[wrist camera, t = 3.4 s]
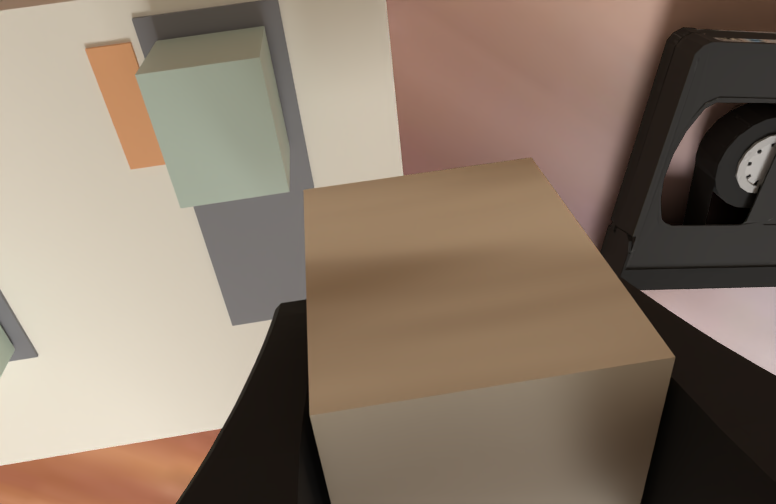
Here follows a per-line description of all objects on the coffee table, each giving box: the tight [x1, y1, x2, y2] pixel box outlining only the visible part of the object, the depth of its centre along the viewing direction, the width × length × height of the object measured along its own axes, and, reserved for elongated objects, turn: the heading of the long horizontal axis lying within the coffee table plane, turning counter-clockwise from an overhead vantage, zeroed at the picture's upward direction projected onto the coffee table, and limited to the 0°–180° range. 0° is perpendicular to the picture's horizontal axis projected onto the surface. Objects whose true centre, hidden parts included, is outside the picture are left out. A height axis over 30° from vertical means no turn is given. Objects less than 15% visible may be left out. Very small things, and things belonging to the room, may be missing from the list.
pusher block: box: [303, 158, 675, 504], centre depth 10 cm, size 4×4×5 cm
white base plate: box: [0, 0, 403, 465], centre depth 18 cm, size 14×17×2 cm
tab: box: [135, 26, 290, 208], centre depth 14 cm, size 3×2×2 cm
